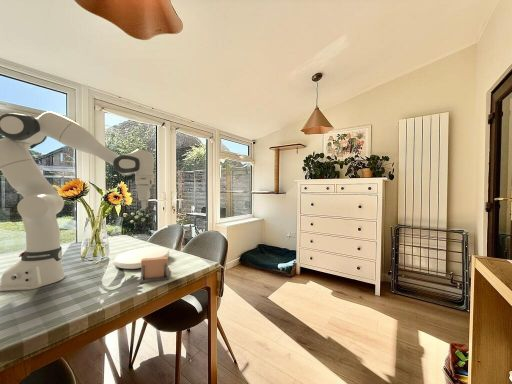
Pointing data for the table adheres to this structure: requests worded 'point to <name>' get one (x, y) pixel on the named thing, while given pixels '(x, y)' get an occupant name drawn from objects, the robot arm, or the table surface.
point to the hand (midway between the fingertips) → (144, 207)
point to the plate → (139, 257)
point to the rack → (153, 279)
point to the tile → (154, 266)
